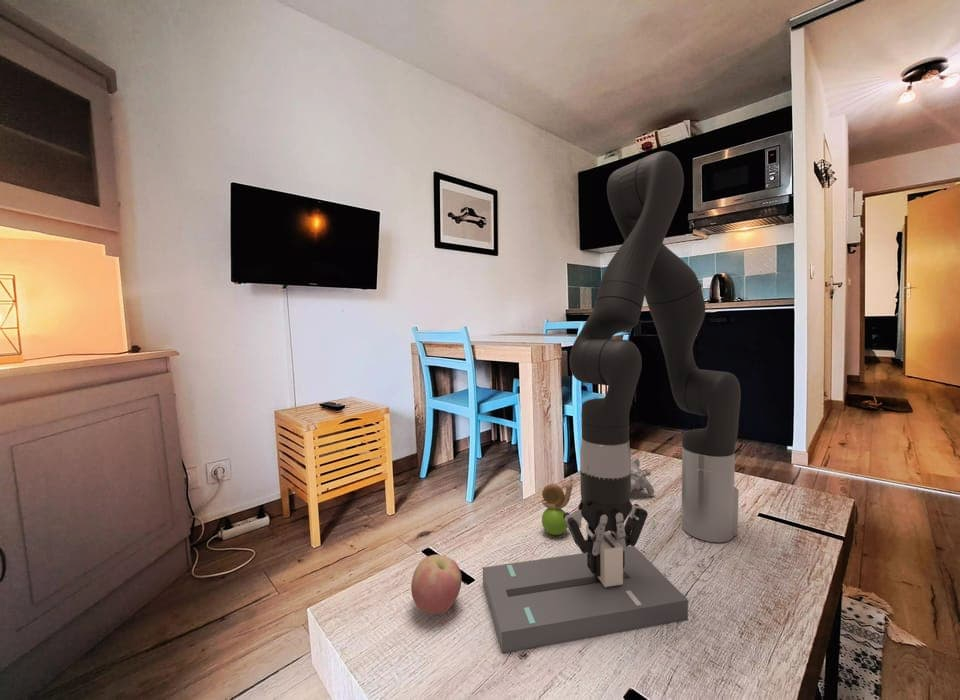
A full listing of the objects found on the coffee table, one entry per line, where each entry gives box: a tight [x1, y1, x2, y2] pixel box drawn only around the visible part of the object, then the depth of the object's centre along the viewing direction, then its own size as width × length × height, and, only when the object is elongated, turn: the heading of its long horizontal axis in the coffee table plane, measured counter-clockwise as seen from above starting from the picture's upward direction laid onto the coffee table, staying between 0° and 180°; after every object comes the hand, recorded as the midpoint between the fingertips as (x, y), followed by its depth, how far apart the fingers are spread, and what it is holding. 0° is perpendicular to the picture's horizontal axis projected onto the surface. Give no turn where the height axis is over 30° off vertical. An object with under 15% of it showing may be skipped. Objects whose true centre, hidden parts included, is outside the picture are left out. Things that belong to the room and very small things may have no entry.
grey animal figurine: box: [631, 457, 655, 497], centre depth 100 cm, size 9×12×8 cm
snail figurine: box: [541, 477, 574, 536], centre depth 80 cm, size 5×6×12 cm
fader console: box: [482, 545, 689, 654], centre depth 61 cm, size 28×14×3 cm, turn 100°
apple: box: [410, 554, 462, 615], centre depth 60 cm, size 8×8×8 cm
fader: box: [598, 531, 623, 587], centre depth 62 cm, size 3×5×6 cm, turn 10°
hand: (605, 571), depth 62 cm, fingers closed on fader, 3 cm apart
